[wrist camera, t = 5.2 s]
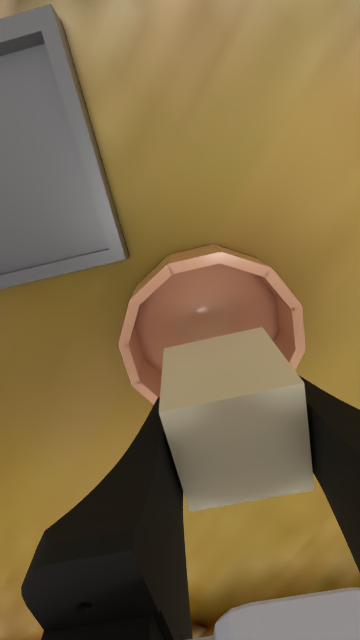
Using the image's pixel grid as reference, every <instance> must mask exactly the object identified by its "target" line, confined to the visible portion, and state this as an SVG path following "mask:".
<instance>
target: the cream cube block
mask: <svg viewBox="0 0 360 640" xmlns="http://www.w3.org/2000/svg"><path fill="white" fill-rule="evenodd" d="M159 415H160V418H161V422H162V425H163V428H164V431H165V434H166V437H167V441H168V444H169V447H170V450H171V453H172V457H173V460H174V463H175V466H176V469H177V473H178V476H179V479H180V482H181V485H182V488H183V492H184V495H185V498H186V501H187V504H188V508H189V511H190V512H192V511H198V510H203V509H209V508H215V507H220V506H226V505H231V504H237V503H243V502H248V501H254V500H259V499H265V498H271V497H276V496H282V495H287V494H293V493H299V492H304V491H310V490H314V480H313V470H312V459H311V449H310V438H309V428H308V417H307V407H306V396H305V386H304V382H303V381H302V379H301V378H300V377H299V375H298V374H297V373H296V371H295V370H294V369H293V367H292V366H291V365H290V363H289V362H288V361H287V359H286V358H285V357H284V355H283V354H282V353H281V351H280V350H279V349H278V347H277V346H276V345H275V343H274V342H273V341H272V339H271V338H270V337H269V335H268V334H267V333H266V331H265V330H264V329H263V327H260V328H255V329H251V330H246V331H241V332H237V333H232V334H228V335H223V336H218V337H214V338H209V339H205V340H200V341H195V342H191V343H186V344H182V345H177V346H172V347H168V348H164V354H163V366H162V378H161V390H160V402H159Z"/></svg>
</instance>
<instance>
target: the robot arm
mask: <svg viewBox="0 0 360 640" xmlns="http://www.w3.org/2000/svg"><path fill="white" fill-rule="evenodd" d="M299 377H300V378H301V379H302V381H303V382H304V386H305V396H306V407H307V417H308V428H309V438H310V449H311V459H312V470H313V473H314V475H315V476H316V478H317V480H318V482H319V484H320V486H321V487H322V489H323V491H324V493H325V495H326V498H327V500H328V502H329V504H330V506H331V508H332V510H333V513H334V515H335V517H336V519H337V521H338V524H339V526H340V528H341V530H342V533H343V535H344V537H345V539H346V542H347V544H348V546H349V548H350V551H351V553H352V555H353V558H354V560H355V562H356V565H357V567H358V569H359V572H360V410H359V409H357V408H355V407H353V406H351V405H349V404H347V403H345V402H343V401H341V400H339V399H337V398H335V397H334V396H332V395H330V394H328V393H327V392H325V391H323V390H321V389H320V388H318V387H317V386H315V385H313V384H312V383H310V382H309V381H307V380H305V379H304V378H302V377H301V376H299ZM159 402H160V397H158V398H157V400H156V402H155V404H154V406H153V408H152V410H151V411H150V413H149V415H148V417H147V419H146V421H145V422H144V424H143V426H142V428H141V429H140V431H139V433H138V434H137V436H136V437H135V439H134V441H133V442H132V444H131V445H130V447H129V448H128V450H127V451H126V452H125V454H124V455H123V456H122V458H121V459H120V460H119V462H118V463H117V464H116V465H115V467H114V468H113V469H112V470H111V471H110V472H109V473H108V474H107V475H106V477H105V478H104V479H103V480H102V481H101V482H100V483H99V484H98V485H97V486H96V487H95V488H94V489H93V490H92V491H91V492H90V493H89V494H88V495H87V496H86V497H85V498H84V499H83V500H82V501H81V502H79V503H78V504H77V505H76V506H75V507H74V508H73V509H72V510H70V511H69V512H68V513H67V514H65V515H64V516H63V517H62V518H60V519H59V520H58V521H57V522H56V523H54V524H53V525H52V526H51V527H49V528H48V529H47V530H45V532H44V534H43V536H42V538H41V540H40V542H39V544H38V546H37V549H36V551H35V554H34V557H33V559H32V562H31V564H30V567H29V569H28V571H27V574H26V576H25V579H24V581H23V584H22V586H21V591H22V597H23V599H24V601H25V604H26V606H27V607H28V609H29V610H30V611H31V613H32V614H33V615H34V617H35V618H36V620H37V621H38V622H39V624H40V625H41V627H42V628H43V629H44V632H43V636H42V639H41V640H360V588H344V589H337V590H331V591H324V592H318V593H311V594H304V595H298V596H291V597H285V598H278V599H271V600H265V601H258V602H252V603H248V604H244V605H241V606H238V607H235V608H232V609H230V610H229V611H228V612H226V613H225V614H224V615H223V616H222V617H221V618H219V619H218V621H217V622H216V624H215V629H214V636H209V637H202V638H195V639H193V638H192V628H191V617H190V606H189V594H188V582H187V569H186V556H185V542H184V526H183V488H182V485H181V482H180V479H179V476H178V473H177V469H176V466H175V463H174V460H173V457H172V453H171V450H170V447H169V444H168V441H167V437H166V434H165V431H164V428H163V425H162V422H161V418H160V415H159Z"/></svg>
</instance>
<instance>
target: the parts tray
mask: <svg viewBox="0 0 360 640" xmlns="http://www.w3.org/2000/svg"><path fill="white" fill-rule="evenodd" d="M128 257H129V253H128V250H127V246H126V243H125V239H124V236H123V232H122V229H121V225H120V222H119V218H118V215H117V211H116V208H115V204H114V201H113V197H112V194H111V190H110V187H109V183H108V180H107V176H106V173H105V169H104V166H103V163H102V159H101V156H100V152H99V149H98V145H97V142H96V138H95V135H94V131H93V128H92V124H91V121H90V117H89V114H88V110H87V107H86V103H85V100H84V96H83V93H82V89H81V86H80V82H79V79H78V75H77V72H76V69H75V65H74V62H73V58H72V55H71V51H70V48H69V44H68V41H67V37H66V34H65V30H64V27H63V23H62V22H61V20H60V18H59V17H58V15H57V13H56V12H55V10H54V8H53V7H52V5H51V4H49V5H45V6H42V7H39V8H35V9H32V10H29V11H25V12H22V13H19V14H15V15H12V16H9V17H5V18H2V19H0V289H3V288H7V287H12V286H16V285H20V284H24V283H29V282H33V281H37V280H41V279H46V278H50V277H54V276H58V275H62V274H67V273H71V272H75V271H79V270H84V269H88V268H92V267H96V266H101V265H105V264H109V263H113V262H118V261H122V260H126V259H127V258H128Z"/></svg>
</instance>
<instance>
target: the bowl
mask: <svg viewBox="0 0 360 640" xmlns="http://www.w3.org/2000/svg"><path fill="white" fill-rule="evenodd" d="M260 327H263V329H264V330H265V331H266V333H267V334H268V335H269V337H270V338H271V339H272V341H273V342H274V343H275V345H276V346H277V347H278V349H279V350H280V351H281V353H282V354H283V355H284V357H285V358H286V359H287V361H288V362H289V363H290V365H291V366H292V367H293V369H294V370H296V368H297V366H298V364H299V362H300V360H301V358H302V356H303V354H304V352H305V350H306V348H305V336H304V323H303V311H302V305H301V303H300V302H299V301H298V300H297V298H296V297H295V296H294V295H293V293H292V292H291V291H290V290H289V289H288V287H287V286H286V285H285V284H284V282H283V281H282V280H281V279H280V278H279V276H278V275H277V274H276V273H275V271H274V270H273V269H272V268H271V267H269V266H268V265H266V264H264V263H263V262H261V261H259V260H258V259H256V258H254V257H251V256H248V255H245V254H242V253H239V252H236V251H232V250H229V249H226V248H223V247H220V246H217V245H214V244H212V245H208V246H203V247H199V248H195V249H191V250H186V251H182V252H178V253H174V254H169V255H168V256H167V257H166V258H165V259H164V260H163V261H162V262H160V263H159V264H158V265H157V266H156V267H155V268H154V269H153V270H152V271H151V272H150V273H149V274H148V275H147V276H146V277H145V278H144V279H143V280H142V281H141V282H140V283H139V284H137V286H136V288H135V290H134V292H133V294H132V296H131V298H130V300H129V304H128V308H127V312H126V316H125V320H124V324H123V328H122V331H121V335H120V339H119V343H118V346H119V349H120V352H121V355H122V358H123V361H124V364H125V367H126V370H127V373H128V376H129V379H130V382H131V385H132V386H133V387H134V388H135V389H136V390H137V391H138V392H140V393H141V394H142V395H143V396H144V397H145V398H147V399H148V400H149V401H150V402H151V403H153V404H155V402H156V400H157V398H158V397H160V390H161V378H162V366H163V354H164V348H168V347H172V346H177V345H182V344H186V343H191V342H195V341H200V340H205V339H209V338H214V337H218V336H223V335H228V334H232V333H237V332H241V331H246V330H251V329H255V328H260Z"/></svg>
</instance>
